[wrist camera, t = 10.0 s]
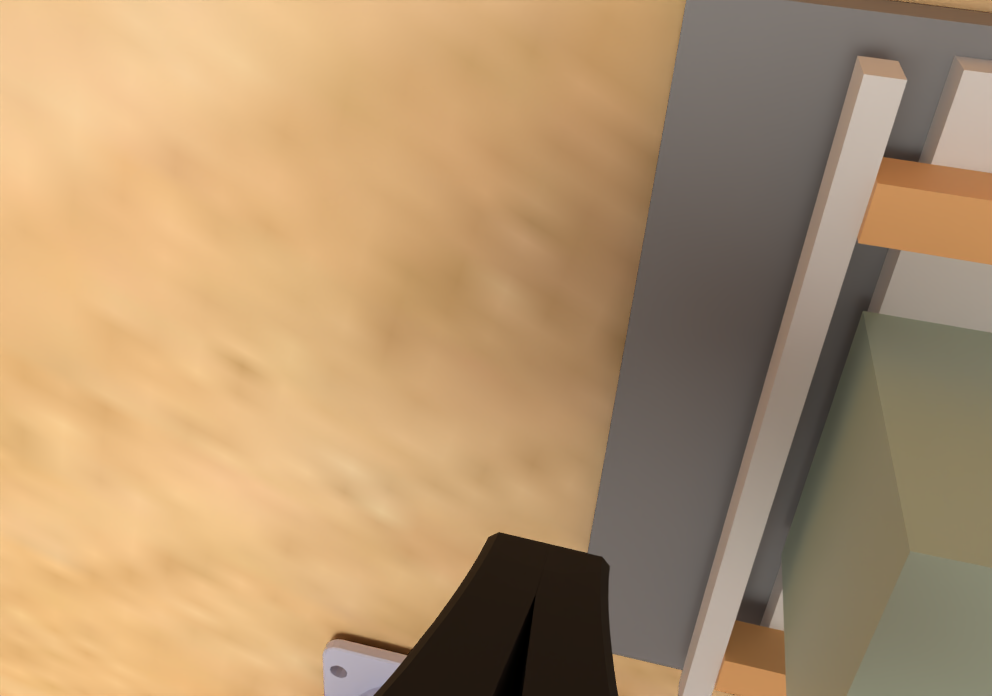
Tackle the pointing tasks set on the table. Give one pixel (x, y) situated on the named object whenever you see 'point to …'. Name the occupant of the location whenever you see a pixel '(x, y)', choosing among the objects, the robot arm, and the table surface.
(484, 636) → the robot arm
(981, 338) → the block
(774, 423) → the rail board
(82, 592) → the table surface
